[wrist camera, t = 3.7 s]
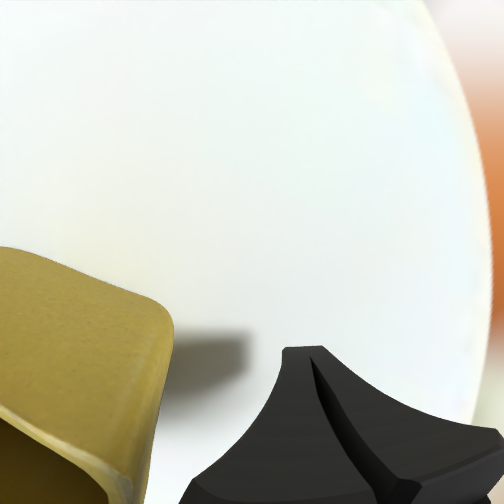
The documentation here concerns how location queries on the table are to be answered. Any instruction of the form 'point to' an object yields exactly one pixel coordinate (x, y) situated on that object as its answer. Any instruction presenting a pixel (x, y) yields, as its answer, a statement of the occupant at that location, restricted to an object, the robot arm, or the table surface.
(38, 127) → the table surface
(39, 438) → the flower pot
